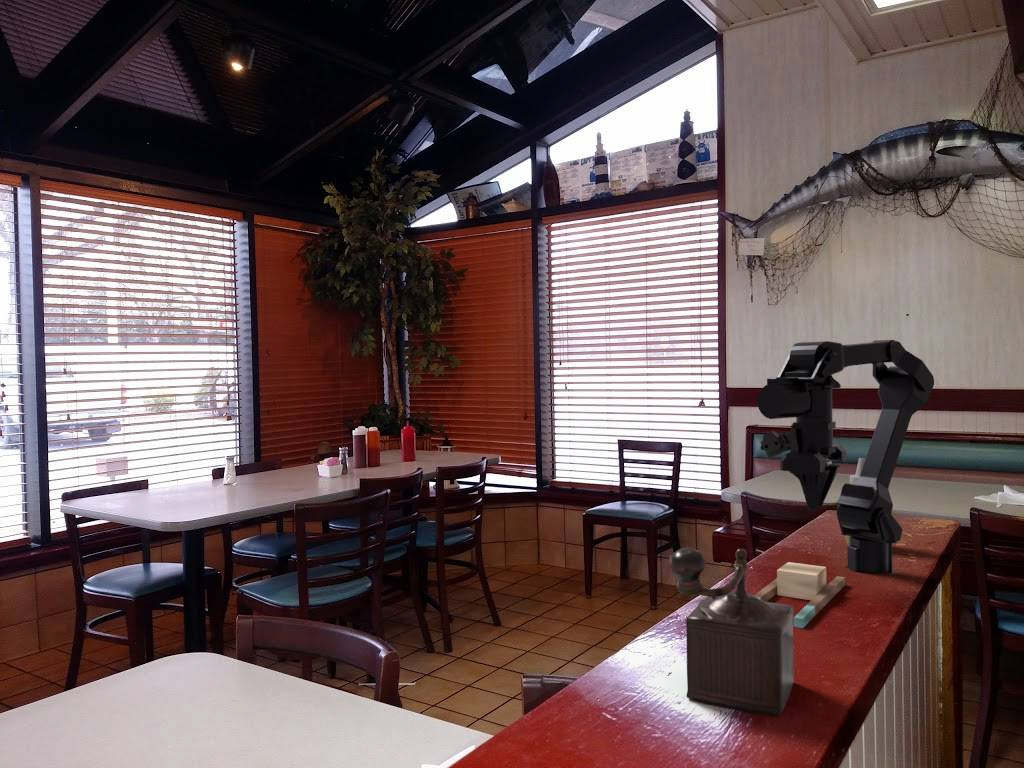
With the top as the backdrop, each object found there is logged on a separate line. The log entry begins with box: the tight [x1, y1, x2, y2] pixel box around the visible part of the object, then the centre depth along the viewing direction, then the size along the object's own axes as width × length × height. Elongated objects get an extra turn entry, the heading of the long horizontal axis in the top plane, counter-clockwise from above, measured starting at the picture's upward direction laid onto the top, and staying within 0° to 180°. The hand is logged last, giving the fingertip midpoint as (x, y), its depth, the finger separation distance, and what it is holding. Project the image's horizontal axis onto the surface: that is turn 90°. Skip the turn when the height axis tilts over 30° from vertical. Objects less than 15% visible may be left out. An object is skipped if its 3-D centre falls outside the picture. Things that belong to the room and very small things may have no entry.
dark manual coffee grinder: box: [668, 547, 795, 717], centre depth 87 cm, size 16×11×18 cm
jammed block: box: [776, 561, 827, 601], centre depth 124 cm, size 6×6×4 cm
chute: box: [753, 575, 846, 629], centre depth 121 cm, size 25×10×2 cm, turn 144°
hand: (815, 508), depth 130 cm, fingers open, 4 cm apart
